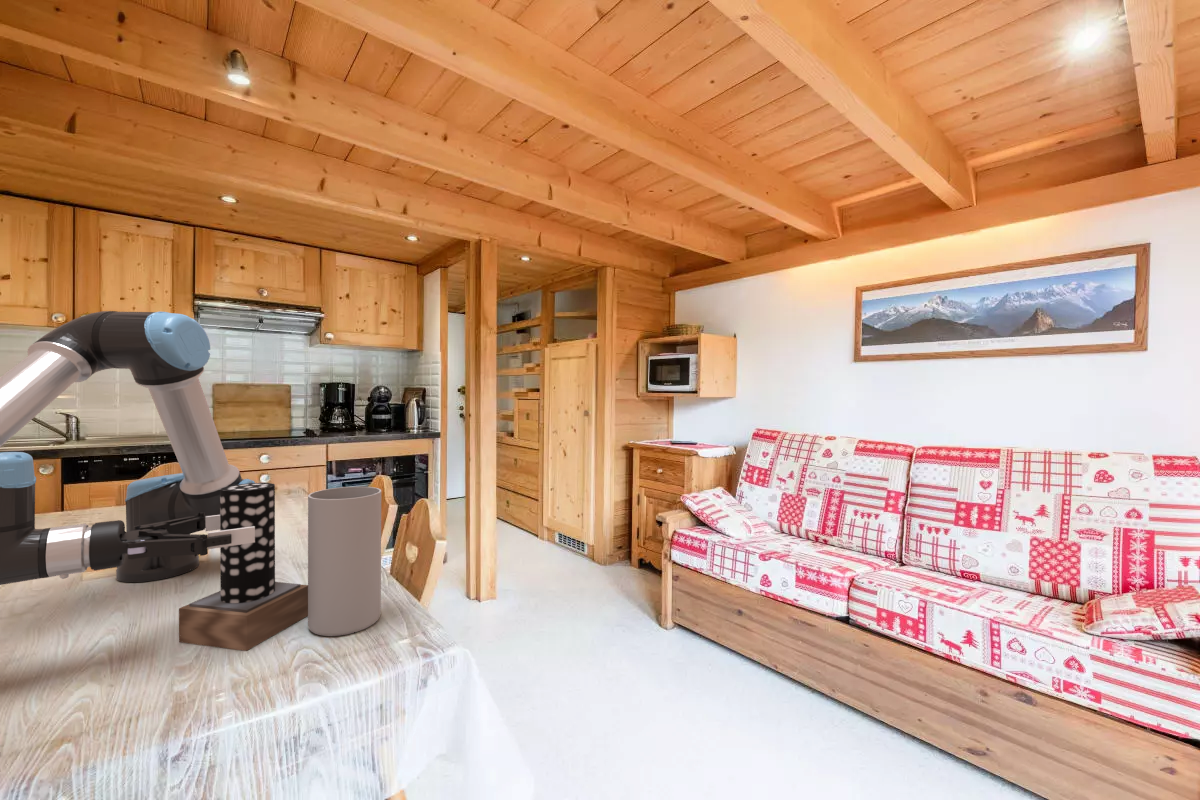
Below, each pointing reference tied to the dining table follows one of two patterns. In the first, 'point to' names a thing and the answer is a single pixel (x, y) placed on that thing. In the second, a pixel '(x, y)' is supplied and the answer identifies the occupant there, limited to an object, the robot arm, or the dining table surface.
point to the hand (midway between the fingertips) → (251, 526)
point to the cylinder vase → (344, 560)
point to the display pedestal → (242, 618)
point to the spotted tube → (253, 563)
